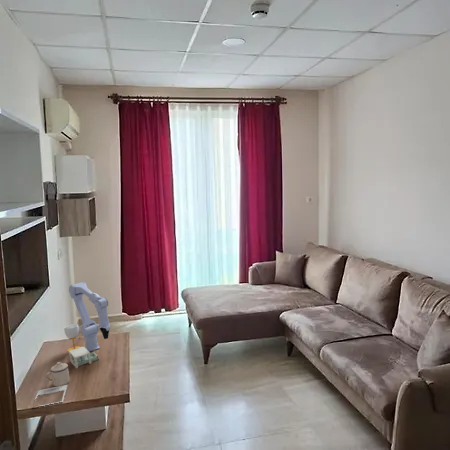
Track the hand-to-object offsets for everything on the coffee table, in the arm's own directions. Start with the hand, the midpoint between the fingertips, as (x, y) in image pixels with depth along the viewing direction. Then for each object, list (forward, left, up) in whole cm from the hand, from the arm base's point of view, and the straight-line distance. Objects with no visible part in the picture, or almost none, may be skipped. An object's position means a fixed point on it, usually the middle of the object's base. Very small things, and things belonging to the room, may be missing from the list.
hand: (106, 338), depth 261 cm
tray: (0, -14, -10) cm, 17 cm away
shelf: (0, -17, -10) cm, 20 cm away
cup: (-24, -15, -10) cm, 30 cm away
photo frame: (+30, -41, -11) cm, 52 cm away
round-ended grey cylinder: (0, -15, -9) cm, 18 cm away
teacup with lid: (+18, -34, -10) cm, 40 cm away
